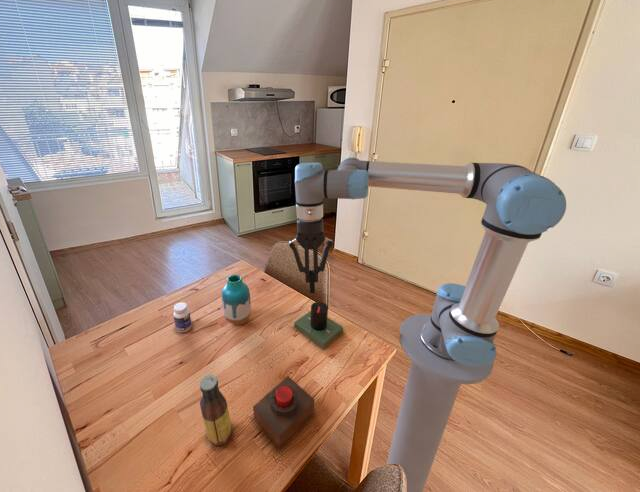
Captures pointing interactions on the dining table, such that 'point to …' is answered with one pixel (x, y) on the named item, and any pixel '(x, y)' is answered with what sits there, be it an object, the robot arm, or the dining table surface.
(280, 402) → the light button
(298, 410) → the switch box
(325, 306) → the dimmer knob
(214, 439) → the sauce bottle
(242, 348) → the dining table surface
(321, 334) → the panel
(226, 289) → the vase
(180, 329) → the pill bottle
